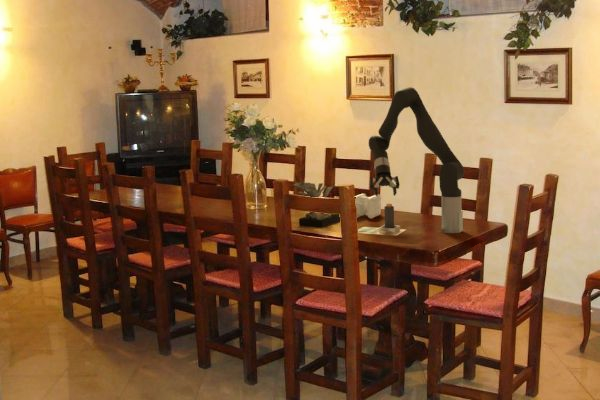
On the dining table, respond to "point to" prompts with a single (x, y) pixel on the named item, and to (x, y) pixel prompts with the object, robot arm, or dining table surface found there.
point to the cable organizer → (368, 205)
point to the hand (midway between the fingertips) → (385, 195)
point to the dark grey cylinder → (389, 216)
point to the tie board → (381, 230)
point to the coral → (312, 217)
